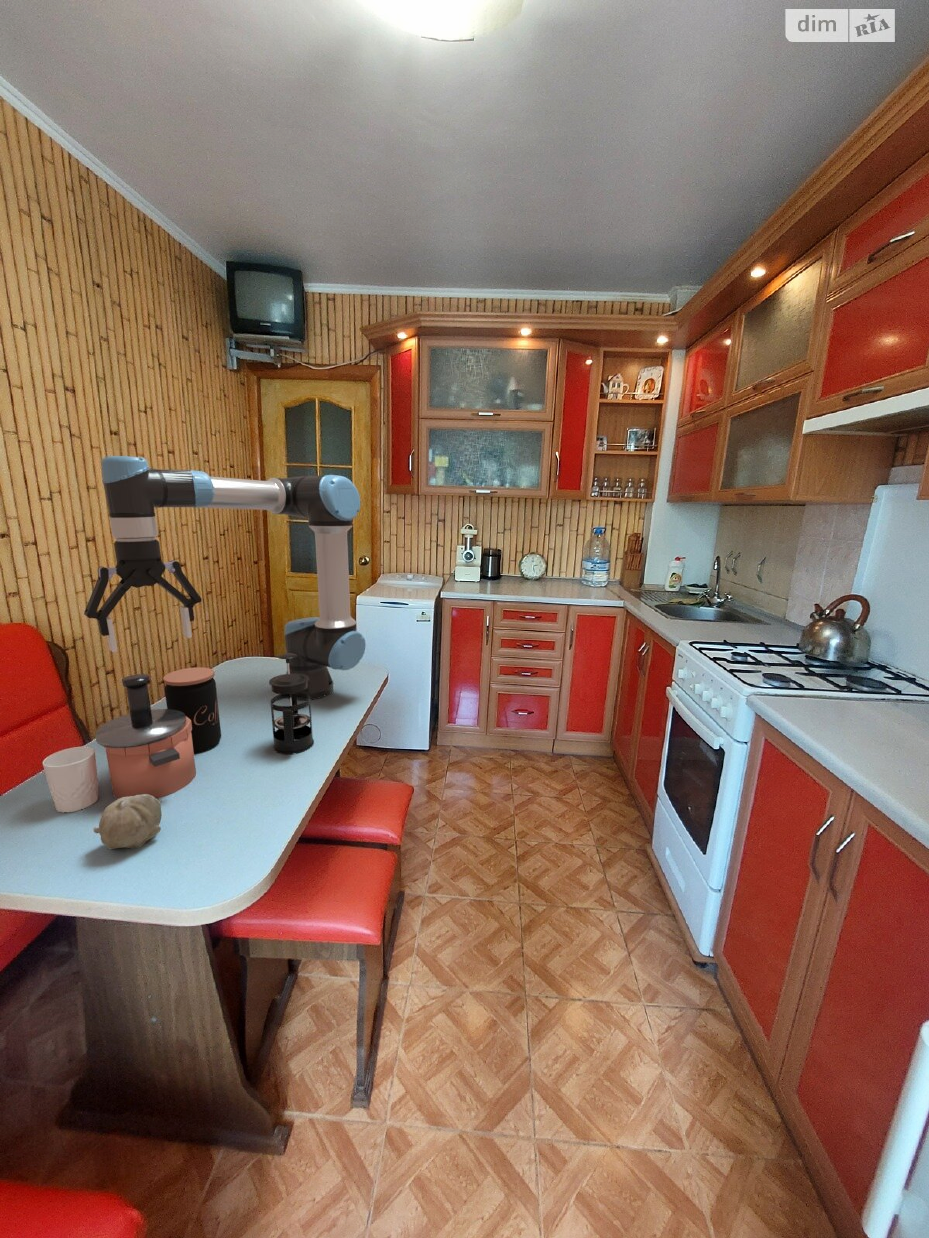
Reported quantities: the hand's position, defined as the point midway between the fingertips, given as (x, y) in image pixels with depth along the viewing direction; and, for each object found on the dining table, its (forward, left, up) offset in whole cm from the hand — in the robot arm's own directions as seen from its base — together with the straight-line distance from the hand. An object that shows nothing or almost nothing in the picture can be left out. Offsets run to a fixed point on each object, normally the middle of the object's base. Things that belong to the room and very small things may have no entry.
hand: (152, 643), depth 103 cm
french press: (-25, +9, -29) cm, 39 cm away
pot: (+3, +3, -29) cm, 29 cm away
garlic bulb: (+12, +22, -29) cm, 38 cm away
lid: (+4, +3, -19) cm, 19 cm away
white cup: (+16, +1, -29) cm, 33 cm away
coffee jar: (-9, -8, -29) cm, 32 cm away
